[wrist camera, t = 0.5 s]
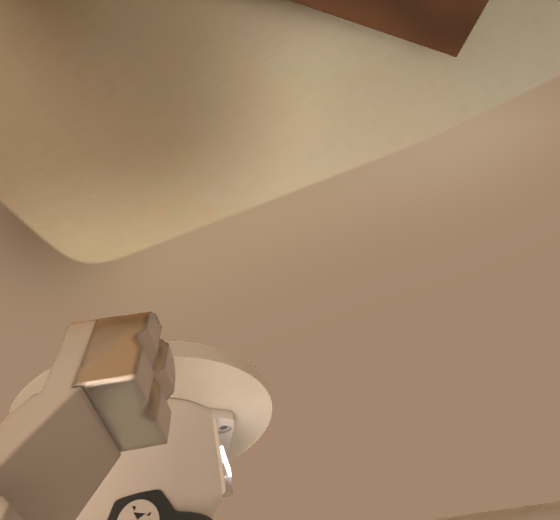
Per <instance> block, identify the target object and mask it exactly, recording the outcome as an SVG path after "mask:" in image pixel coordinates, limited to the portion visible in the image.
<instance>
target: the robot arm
mask: <svg viewBox="0 0 560 520" xmlns="http://www.w3.org/2000/svg"><path fill="white" fill-rule="evenodd" d="M161 328H162V326H161V324H160V322H159V320H158V317H157V316H156V314H155V313H153V312H146V313H138V314H131V315H123V316H116V317H109V318H102V319H99V320H90V321H83V322H75V323H73V324H72V325H70V326H69V327H68V328H67V330H66V333H65V335H64V338H63V340H62V343H61V345H60V347H59V350H58V352H57V355H56V357H55V360H54V362H53V365H52V367H51V370H50V372H49V375H48V377H47V380H46V382H45V384H44V387H43V389H42V392H41V393H37V394H32V395H31V396H30V397H29V398H28V399H27V400H26V401H25V402H23V403H22V404H21V405H20V406H19V407H18V408H17V409H16V410H14V411H13V412H12V413H11V414H10V415H9V416H8V417H7V418H6V419H4V420H3V421H2V422H1V423H0V520H215V519H216V516H217V513H218V510H219V507H220V504H221V502H222V497H227V496H231V495H232V482H231V470H230V466H229V463H228V460H229V454H230V448H231V442H232V436H233V430H234V423H235V419H234V413H233V412H232V411H229V410H223V409H210V408H207V407H204V406H202V405H199V404H197V403H194V402H191V401H187V400H181V399H172V398H170V396H171V395H172V394H173V393H174V389H175V364H174V359H173V355H172V352H171V349H170V346H169V344H168V343H167V342H165V341H163V340H162V339H160V334H161ZM226 472H227V473H228V474H226ZM432 520H560V501H559V502H552V503H545V504H539V505H531V506H524V507H517V508H510V509H502V510H495V511H488V512H481V513H475V514H467V515H460V516H453V517H446V518H439V519H432Z"/></svg>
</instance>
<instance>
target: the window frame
mask: <svg viewBox="0 0 560 520" xmlns="http://www.w3.org/2000/svg"><path fill="white" fill-rule="evenodd" d="M290 1H293V2H296V3H299V4H302V5H305V6H308V7H311V8H314V9H317V10H319V11H322V12H325V13H328V14H331V15H334V16H337V17H340V18H343V19H346V20H349V21H352V22H355V23H358V24H361V25H363V26H366V27H369V28H372V29H375V30H378V31H381V32H384V33H387V34H390V35H393V36H396V37H399V38H402V39H405V40H408V41H410V42H413V43H416V44H419V45H422V46H425V47H428V48H431V49H434V50H437V51H440V52H443V53H446V54H449V55H452V56H454V57H457V55H458V53H459V52H460V50H461V48H462V46H463V45H464V43H465V41H466V39H467V38H468V36H469V34H470V32H471V30H472V29H473V27H474V25H475V23H476V22H477V20H478V18H479V16H480V15H481V13H482V11H483V9H484V8H485V6H486V4H487V2H488V1H489V0H290Z"/></svg>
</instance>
